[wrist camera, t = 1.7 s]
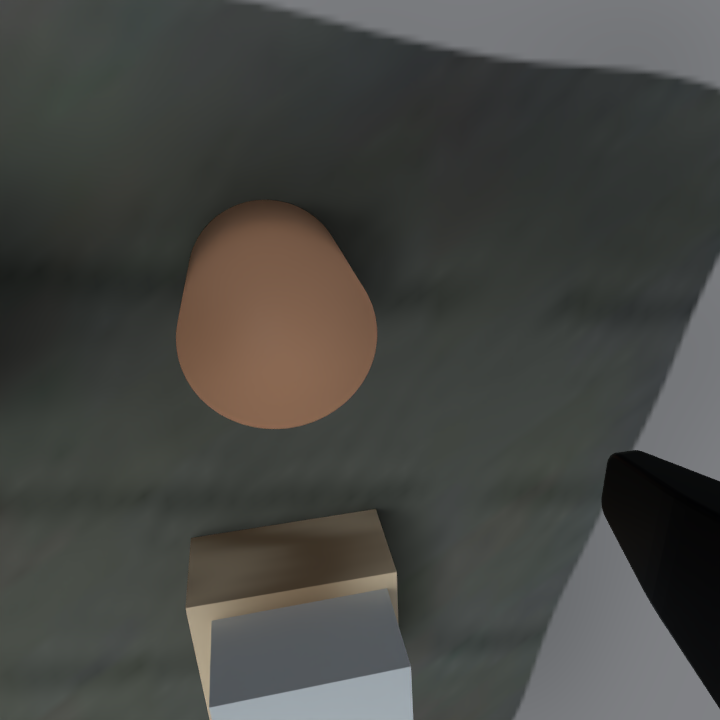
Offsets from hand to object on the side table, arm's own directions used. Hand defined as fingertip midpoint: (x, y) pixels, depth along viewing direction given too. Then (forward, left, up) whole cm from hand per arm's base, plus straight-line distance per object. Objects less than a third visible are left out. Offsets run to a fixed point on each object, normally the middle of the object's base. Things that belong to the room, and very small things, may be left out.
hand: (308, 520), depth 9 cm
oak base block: (+7, -10, -12) cm, 17 cm away
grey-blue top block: (+7, -10, -8) cm, 15 cm away
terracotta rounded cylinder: (0, 0, -11) cm, 11 cm away
